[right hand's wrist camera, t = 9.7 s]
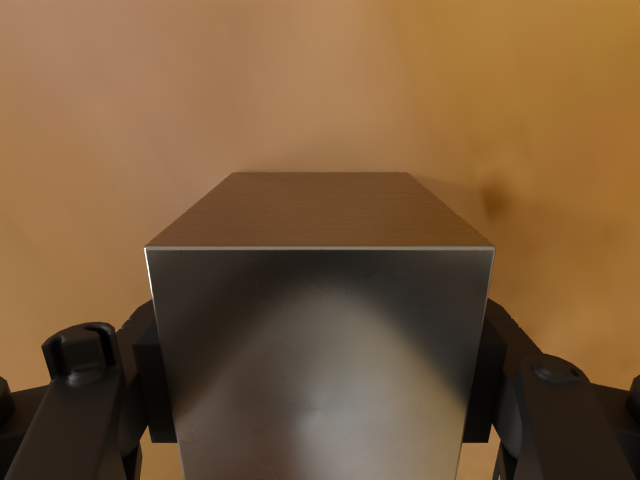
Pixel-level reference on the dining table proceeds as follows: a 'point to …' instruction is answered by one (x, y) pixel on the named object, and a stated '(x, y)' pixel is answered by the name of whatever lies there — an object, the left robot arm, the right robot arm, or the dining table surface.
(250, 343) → the metallic grey cube
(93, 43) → the dining table surface
